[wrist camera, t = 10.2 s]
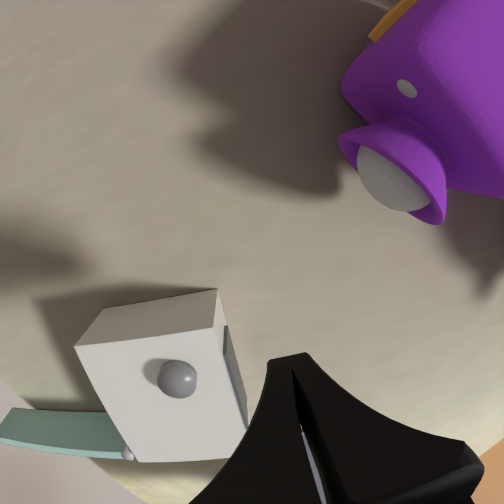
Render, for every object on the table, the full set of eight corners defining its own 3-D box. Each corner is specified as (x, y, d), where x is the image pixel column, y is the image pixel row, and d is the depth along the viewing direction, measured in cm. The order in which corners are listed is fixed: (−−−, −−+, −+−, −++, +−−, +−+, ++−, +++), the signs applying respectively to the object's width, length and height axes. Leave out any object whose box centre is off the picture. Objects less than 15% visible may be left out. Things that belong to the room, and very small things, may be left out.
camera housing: (253, 414, 23) (258, 471, 17) (155, 425, 23) (142, 478, 17) (220, 288, 20) (216, 334, 14) (103, 308, 20) (67, 353, 14)
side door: (143, 409, 22) (130, 453, 18) (148, 419, 23) (137, 462, 18) (12, 406, 22) (-9, 435, 18) (18, 415, 23) (-2, 444, 18)
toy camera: (287, 158, 18) (343, 154, 8) (374, -4, 15) (449, -76, 6) (422, 240, 20) (524, 294, 10) (486, 86, 17) (583, 72, 7)
